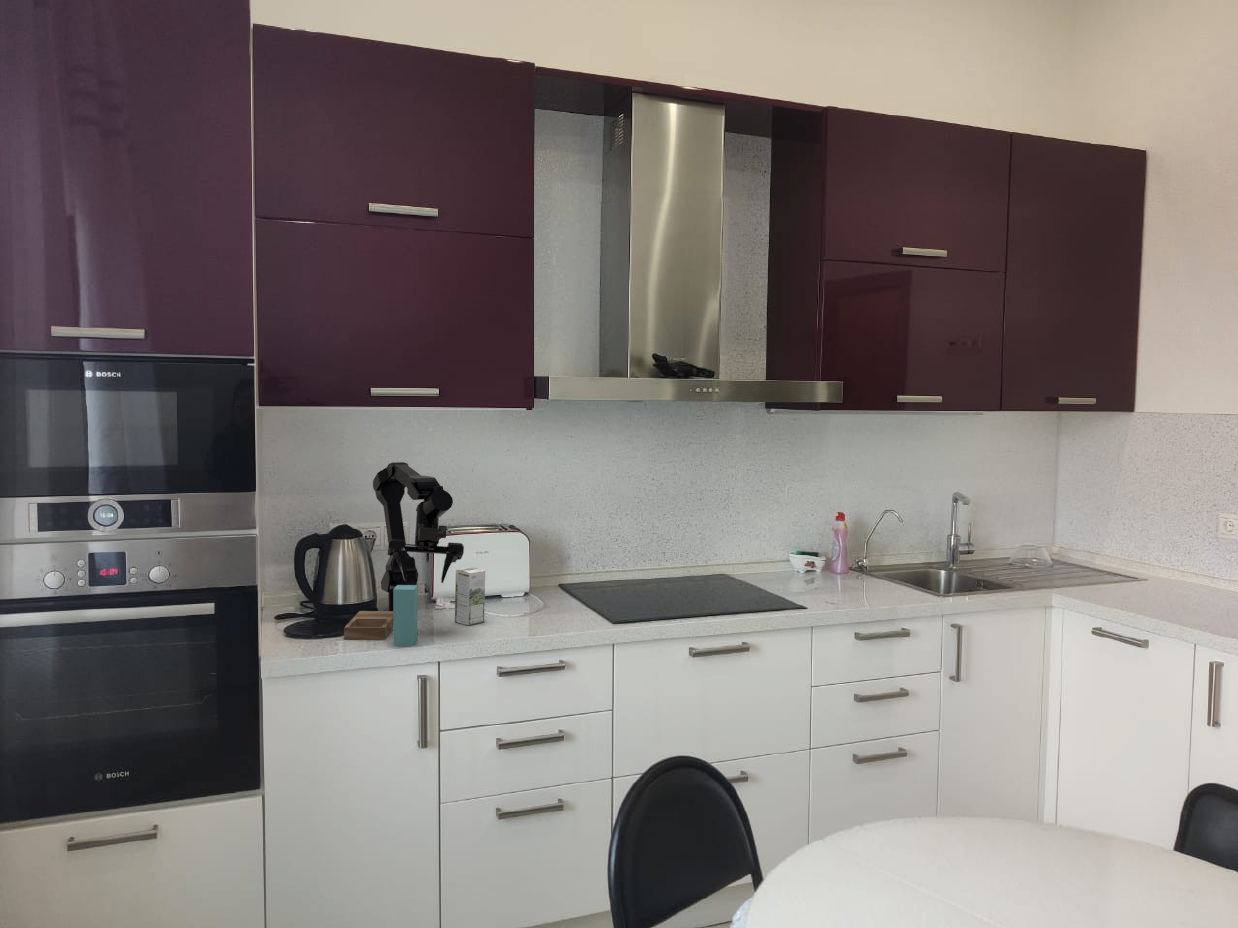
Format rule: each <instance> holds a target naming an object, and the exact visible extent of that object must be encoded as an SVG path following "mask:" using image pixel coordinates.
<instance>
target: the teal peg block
mask: <svg viewBox="0 0 1238 928" xmlns="http://www.w3.org/2000/svg"><path fill="white" fill-rule="evenodd" d="M418 587H419V586H418V584H417V585H397V586H396V587H395V588H394V589H393V629H392V630H393V631H392V632H393V633H392V634H393V638H392V639H393V640H392V643H393V645H392V646H393V647H415V645H416V644H417V642H418V605H419V604H418V601H419V600H418V591H419V590H418V589H419V588H418Z"/></svg>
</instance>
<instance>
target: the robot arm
mask: <svg viewBox="0 0 1238 928" xmlns="http://www.w3.org/2000/svg"><path fill="white" fill-rule="evenodd" d="M405 488H406V490H407V491H406V492H407V495H408V496H409V498H410V499H411V500H412V501H419V500H420V502H419V503H418V504H417V506H416V508H415V511H416V519H415V520H416V521H415V535H414V544H410V543H407V541H406V535H405V528H404V527H405V526H404V519H403V513H402V506H401V502H402V499H404V495H405ZM372 489H373V491H374V492H375V497H376V499H377V500H378V501H379V503H380V504H381V505H382V507H383V513H384V519H385V520H384V522H385V528H386V534H387V535H386V536H387V543H388V544H387V552H386V553H387V556H389V557H388V560H387V562H386V565H385V572H384V574H383V576H382V578H381V581H380V586H381V587H380V588H381V590H383V592H386V593H388V595H387V597H388V599H387V603H388V605H387V607H388V608H386V609H384V610H383V611H393V589H394V588H395V587H396V586H397V585H418V581H419V580H418V578H419V572H418V569H417V566H416V559H415V558H414V556H410V554H409V553H410V552H411V553H422V554H423V553H424V554H437V555H441V554H442V555H445V557H444V561H443V568H442V572H441V573H442V574H441V577H440V578H441V579H440V580H441V584H443V583H444V581H445V579H446V576H447V573H448V570H449V569H450V567H451V564H452V563H456V562H457V561H460V560H462V559H463V555H464V551H465V550H464V549H465V546H464V544H463V543H462V542H461V543H460V542H448V543H447V546H445V545H444V546H443V545H442V546H441V545H439V543H440V539H446V538H447V530H448V529H447V528H448V527H447V525H439V524H440V523H439V521H440V519H439V518H441V517H442V516H443V515H445V514H446V513H447V512H448V511H449V510H450V509H451V508H452V506H453V505H454V504H453V502H454V499H453V497H452V496H451V494H450V493H449V492H448V491H446V490H444V487H443V485H441V484H440V483H439V482H438V480H437V478H436V477H434V476H430V475H422V474H420V473H418V472H417V471H416V470H415V469H414V468H411V466H409V464H408V462H405V461H402V462H401V461H399V462H398V461H396V462H393V461H391V463H388V465H386V467H385V468H383V469H381V470H379V471H378V472H377V473H376V475H375V477H374V478H373V480H372ZM421 500H423V501H421Z"/></svg>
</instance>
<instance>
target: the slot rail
mask: <svg viewBox="0 0 1238 928" xmlns="http://www.w3.org/2000/svg"><path fill="white" fill-rule="evenodd" d="M392 630H393V611H384V610H379V611H378V610H377V611H374V610H359V611H358V612H357V613H356V614H355V616H353V617H352V619H351V620H350V621H349V622H348V623H347V624H346V625H345V626H344V627H343V640H345V641H346V640H347V641H349V640H350V641H351V640H352V641H353V640H361V641H362V640H365V641H369V640H371V641H373V640H374V641H375V640H376V641H382V640H383V641H385V640H386V639H387V637H389V635H390V633H391V632H393V631H392Z"/></svg>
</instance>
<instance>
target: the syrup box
mask: <svg viewBox="0 0 1238 928" xmlns="http://www.w3.org/2000/svg"><path fill="white" fill-rule="evenodd" d="M454 590H455V591H454V592H455V596H454V622H455V623H457V624H462V625H465V626H472V625H476V624H480V623H481V624H482V623H484V622H485V603H486V602H485V600H486V570H485V569H483V568H479V567H474V566H473V567H465V568H461V569H460V568H459V569H456V570H455V589H454Z"/></svg>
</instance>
